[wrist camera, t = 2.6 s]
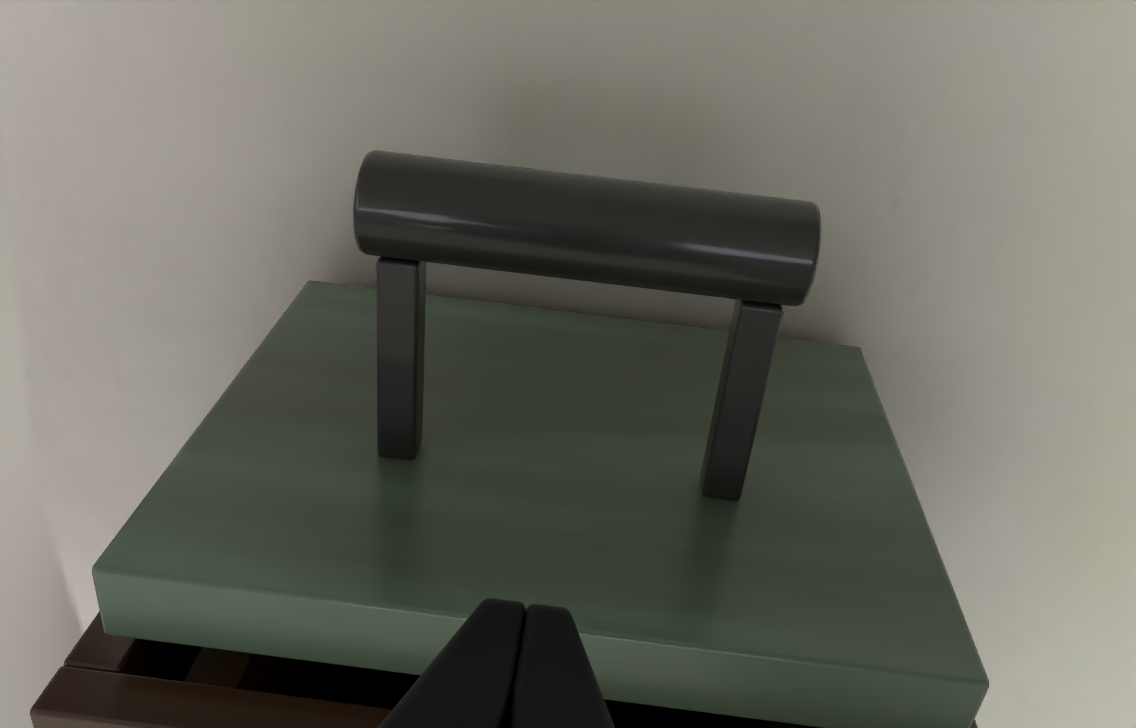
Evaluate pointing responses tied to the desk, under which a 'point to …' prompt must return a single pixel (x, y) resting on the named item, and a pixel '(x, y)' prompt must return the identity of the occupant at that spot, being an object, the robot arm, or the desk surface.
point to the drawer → (556, 473)
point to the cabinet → (172, 693)
